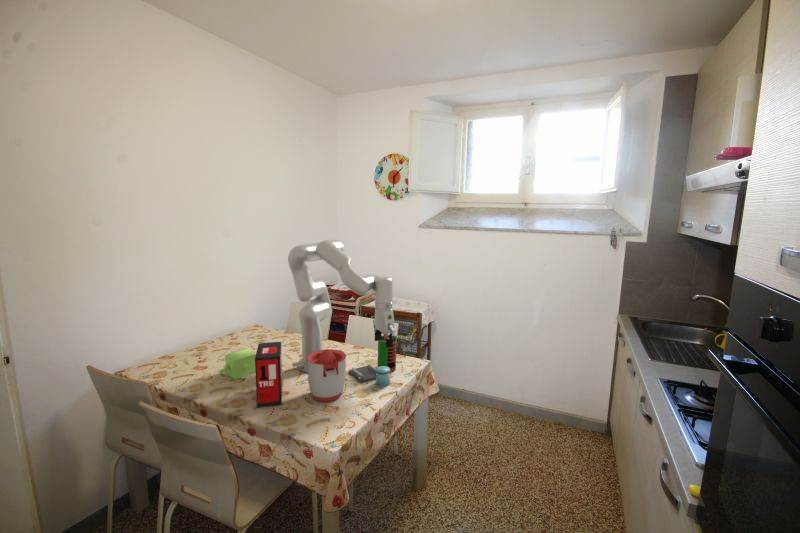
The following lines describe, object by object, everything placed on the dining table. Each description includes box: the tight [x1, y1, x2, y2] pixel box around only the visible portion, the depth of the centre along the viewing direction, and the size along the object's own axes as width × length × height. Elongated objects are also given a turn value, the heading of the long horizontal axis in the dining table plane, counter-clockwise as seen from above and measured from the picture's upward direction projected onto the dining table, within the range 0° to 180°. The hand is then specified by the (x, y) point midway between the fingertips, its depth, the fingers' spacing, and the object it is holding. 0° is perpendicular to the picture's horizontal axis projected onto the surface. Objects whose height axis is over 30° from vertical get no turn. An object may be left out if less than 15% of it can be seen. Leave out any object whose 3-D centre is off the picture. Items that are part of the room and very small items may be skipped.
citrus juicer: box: [307, 348, 347, 402], centre depth 147 cm, size 16×17×20 cm
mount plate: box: [348, 363, 377, 384], centre depth 168 cm, size 11×13×2 cm
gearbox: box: [219, 348, 256, 380], centre depth 167 cm, size 18×10×10 cm, turn 137°
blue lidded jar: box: [375, 366, 391, 388], centre depth 160 cm, size 6×6×7 cm
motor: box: [376, 332, 398, 374], centre depth 173 cm, size 10×9×20 cm
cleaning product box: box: [254, 341, 283, 409], centre depth 146 cm, size 16×9×20 cm, turn 17°
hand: (383, 343), depth 157 cm, fingers open, 9 cm apart
